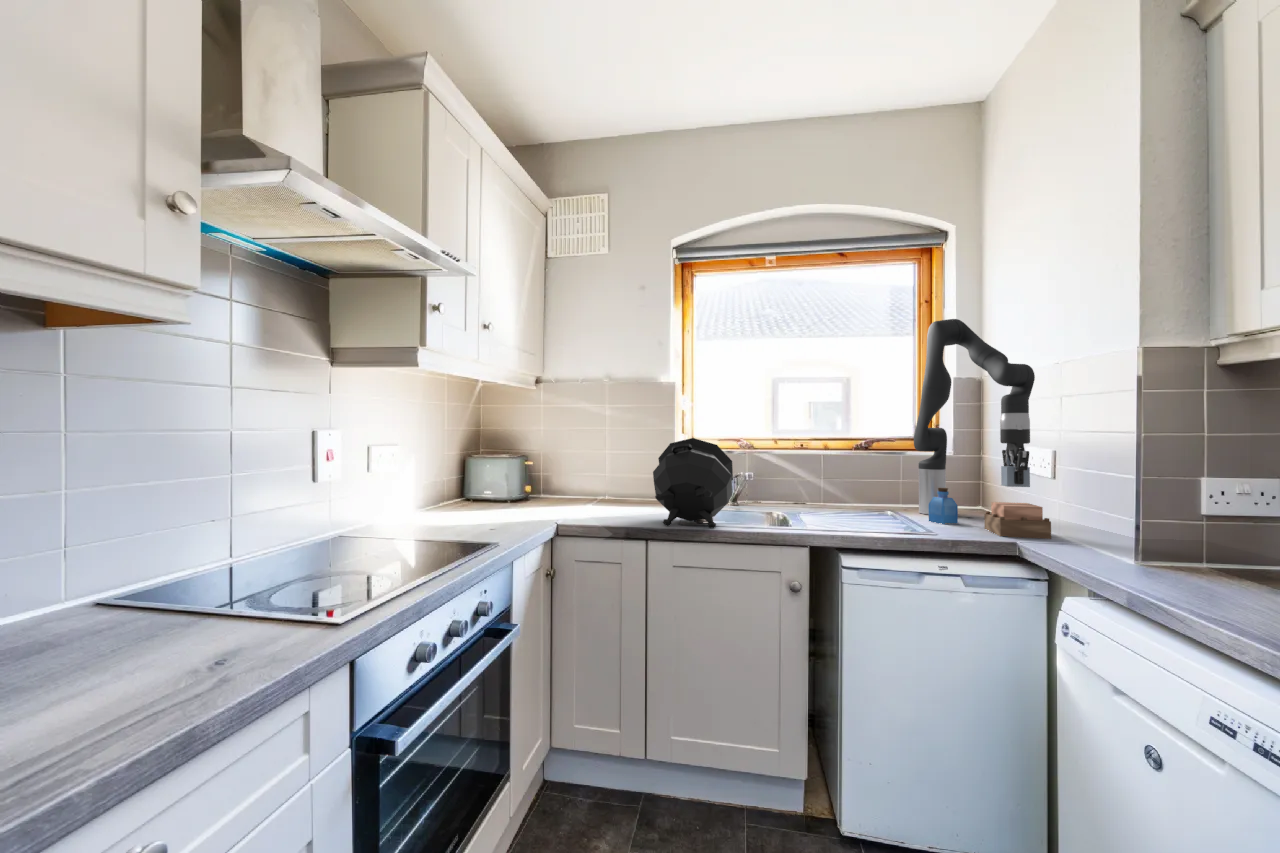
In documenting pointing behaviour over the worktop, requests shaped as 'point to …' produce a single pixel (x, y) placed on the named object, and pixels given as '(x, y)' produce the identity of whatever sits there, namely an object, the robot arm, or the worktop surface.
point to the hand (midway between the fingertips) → (1015, 483)
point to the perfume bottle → (943, 508)
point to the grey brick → (1008, 477)
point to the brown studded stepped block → (1017, 520)
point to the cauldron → (693, 480)
